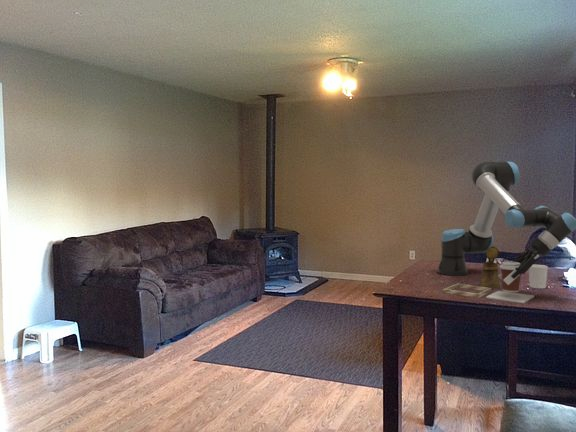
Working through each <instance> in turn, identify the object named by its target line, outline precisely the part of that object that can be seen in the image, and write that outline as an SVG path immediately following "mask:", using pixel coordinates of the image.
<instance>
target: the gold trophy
mask: <svg viewBox="0 0 576 432" xmlns="http://www.w3.org/2000/svg"><path fill="white" fill-rule="evenodd" d="M499 256H500V251H499V249H498V247H495V246H494V245H493V246H492V247H490V248H488V249H487V250H486V252H485V257H486V258H487V259H488V261H484V262H483V265H482V266H481V268H482V271H481V279H480V282H479V283H480V285H479V287H486V288H492V289H499V288H501V283H500V277H498V275H499V266H498V263H497V262H495V259H497V258H498V257H499Z"/></svg>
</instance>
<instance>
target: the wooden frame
mask: <svg viewBox="0 0 576 432" xmlns="http://www.w3.org/2000/svg"><path fill="white" fill-rule="evenodd" d="M458 287H459V288H458ZM455 288H456V289H465V290H466V289H467V290H474V291H480V292H478V293H475V292H469V291H462V290H456V289H455ZM452 289H453V290H452ZM443 292H445V293H444V294H449V293H450V294H451V295H456V296H462V297H471V298H477V299H479V298H481V297H483V296H485V295H489V294H491V293H493V288H486V287H481V286H480V285H479V286H477V285H470V284H464V283H463V284H462V283H456V284H453V285H450V286H448V287H445V288H443V289H442V293H443ZM450 294H449V295H450Z"/></svg>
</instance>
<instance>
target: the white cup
mask: <svg viewBox="0 0 576 432" xmlns="http://www.w3.org/2000/svg"><path fill="white" fill-rule="evenodd" d="M548 269H549V268H548V265H544V264H533V265H532V266H531V267H530V268H529V269H528V279H529V280H528V281H529V288H532V289H546V286H547V278H548Z"/></svg>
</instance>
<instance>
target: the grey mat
mask: <svg viewBox="0 0 576 432" xmlns="http://www.w3.org/2000/svg"><path fill="white" fill-rule="evenodd" d="M534 297H535V295H533V294H524V293H519V292H505V291H503V290H496V291H495V292H492V293H489V294H487V296H485V298H486V299H491V300H497V301H504V302H511V303H519V304H525V303H527V302H528V301H531V299H534Z"/></svg>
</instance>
